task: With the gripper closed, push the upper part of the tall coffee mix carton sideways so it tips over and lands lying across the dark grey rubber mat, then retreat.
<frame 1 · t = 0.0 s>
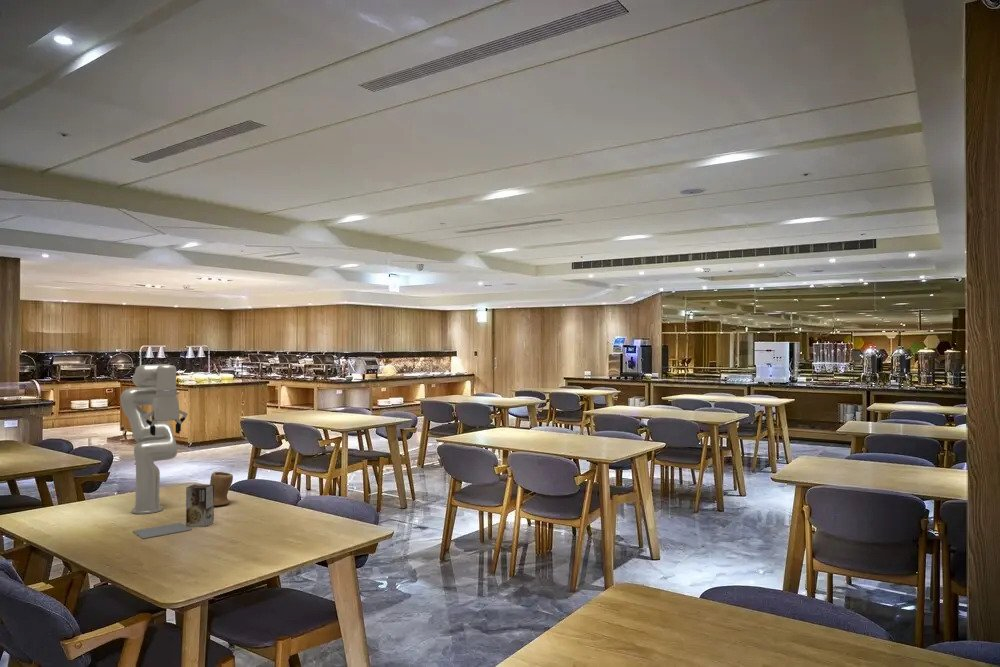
hand: (165, 434, 277), 37 cm above the table, tool pointing down, fingers open, 9 cm apart
coffee box: (199, 524, 271), on the table
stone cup: (217, 504, 307), on the table
mat: (162, 531, 261), on the table
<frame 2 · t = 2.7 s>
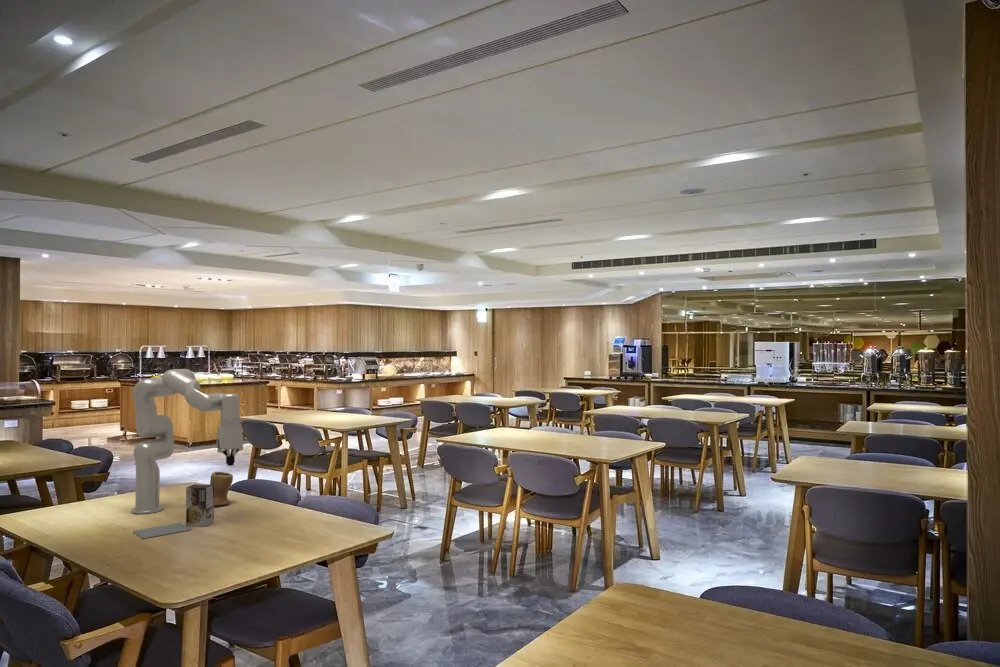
hand: (230, 465, 280), 23 cm above the table, tool pointing down, fingers closed
nothing on the table moved.
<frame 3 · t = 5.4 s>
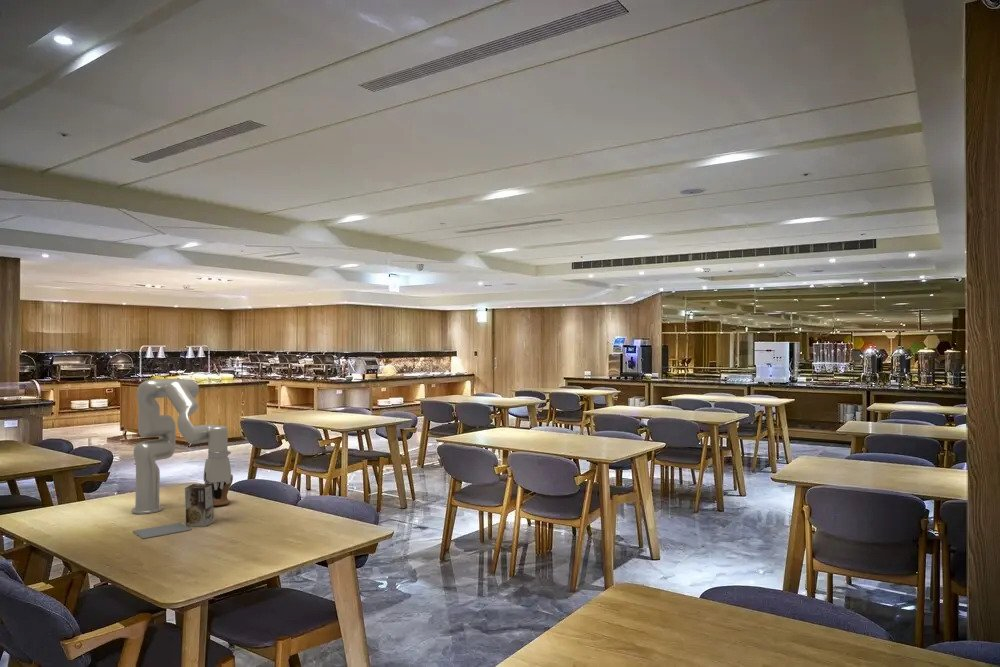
hand: (217, 498, 276), 10 cm above the table, tool pointing down, fingers closed
nothing on the table moved.
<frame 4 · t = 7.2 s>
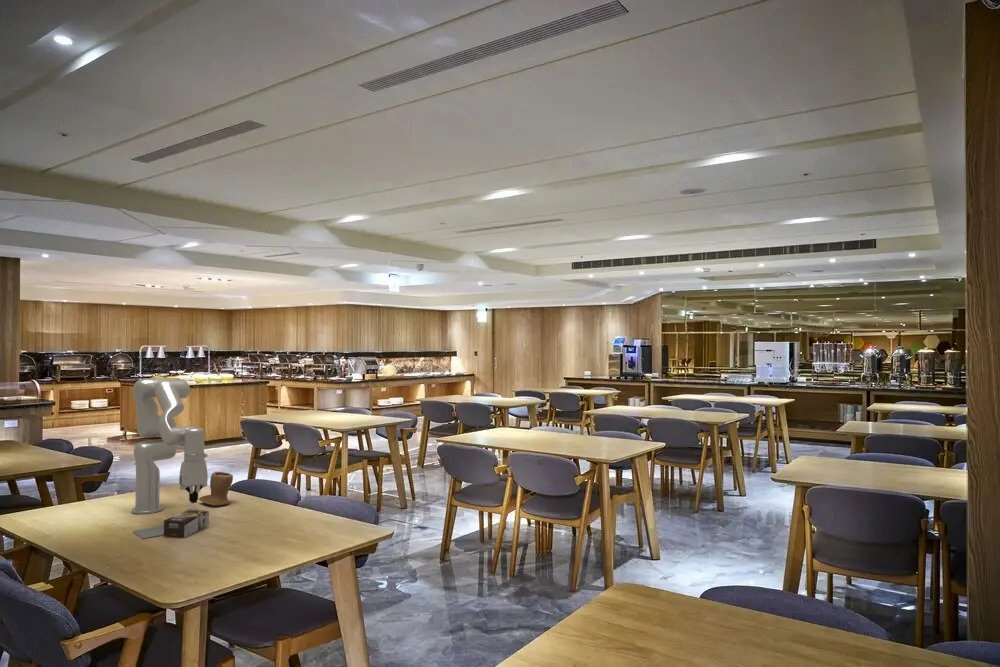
hand: (193, 502, 269), 10 cm above the table, tool pointing down, fingers closed
coffee box: (199, 516, 268), point 4 cm above the table, touching mat
everything else where it was.
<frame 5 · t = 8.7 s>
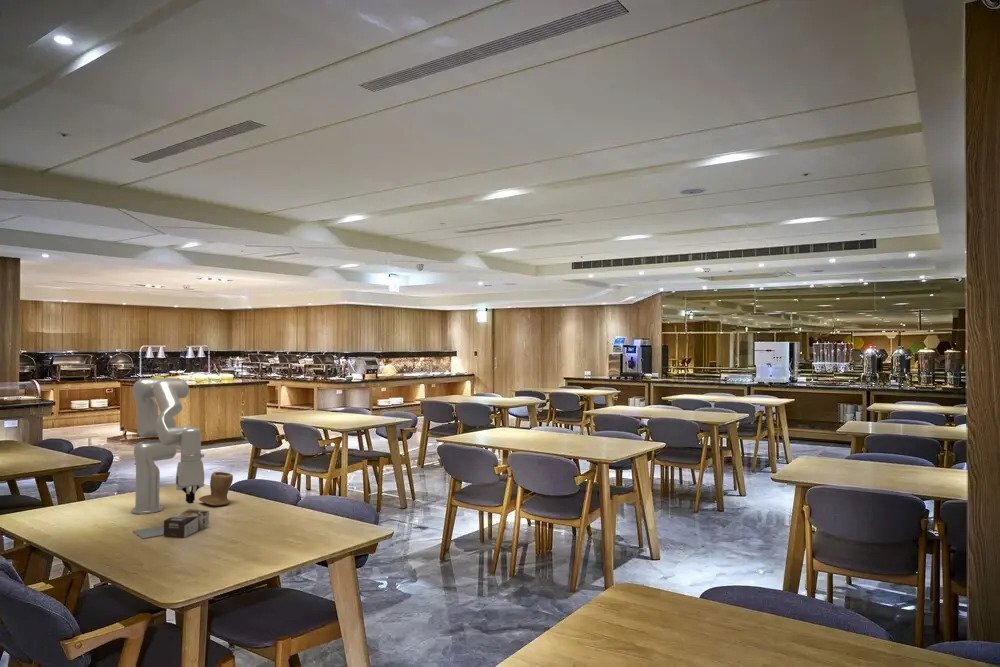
hand: (190, 502, 268), 10 cm above the table, tool pointing down, fingers closed
nothing on the table moved.
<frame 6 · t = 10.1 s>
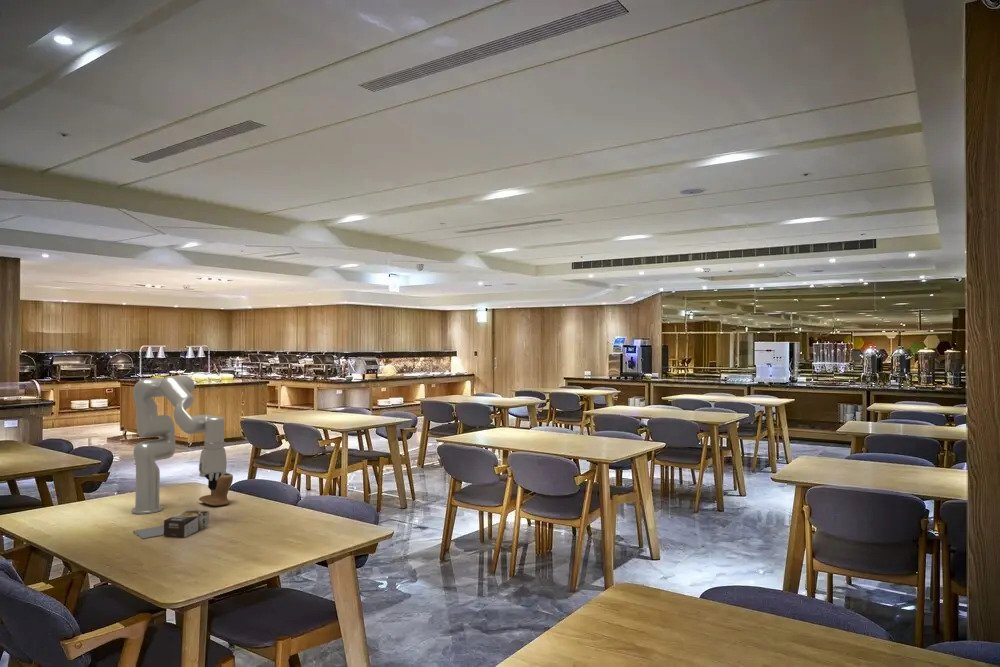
hand: (212, 489, 275), 14 cm above the table, tool pointing down, fingers closed
nothing on the table moved.
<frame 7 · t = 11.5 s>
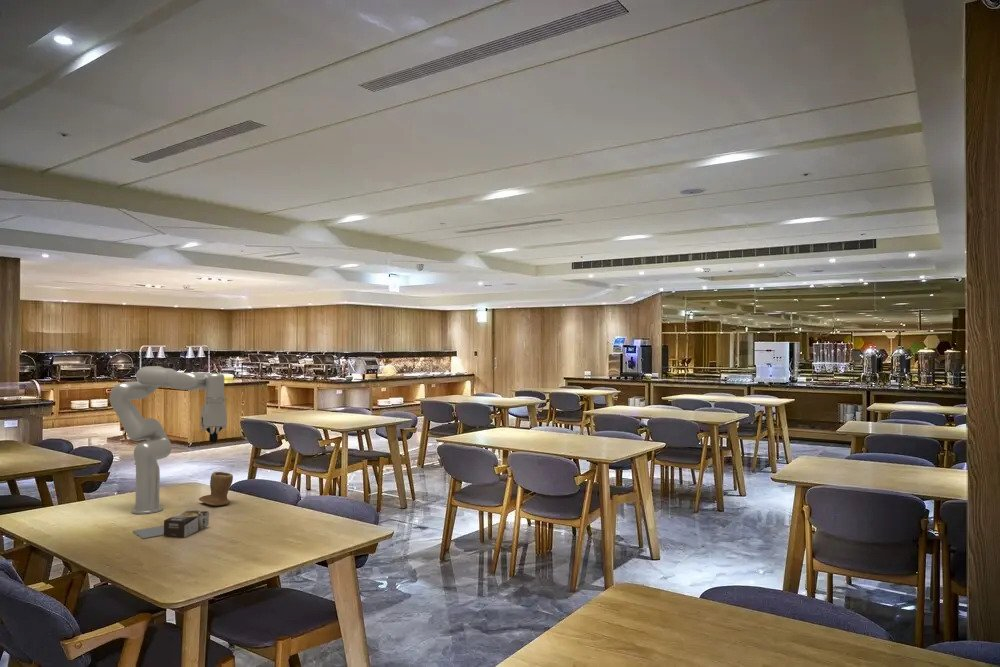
hand: (213, 442, 290), 32 cm above the table, tool pointing down, fingers closed
nothing on the table moved.
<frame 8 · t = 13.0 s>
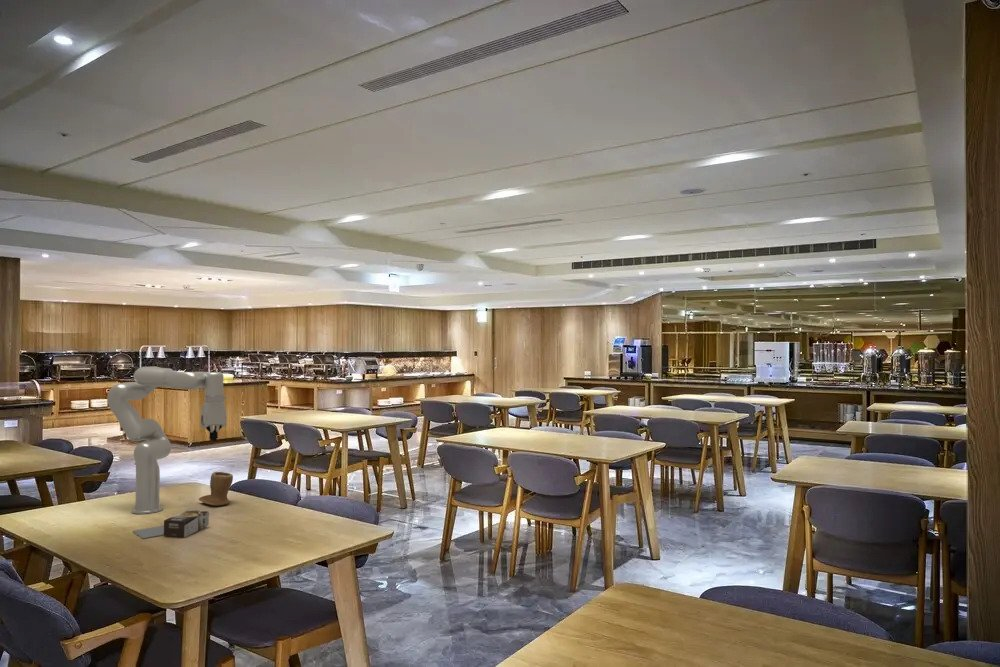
hand: (213, 440, 291), 32 cm above the table, tool pointing down, fingers closed
nothing on the table moved.
at the end: coffee box tilted 92°; coffee box inside the target area on the mat (11.1 cm from its centre), point 3.9 cm above the mat's base; coffee box touching mat, table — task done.
